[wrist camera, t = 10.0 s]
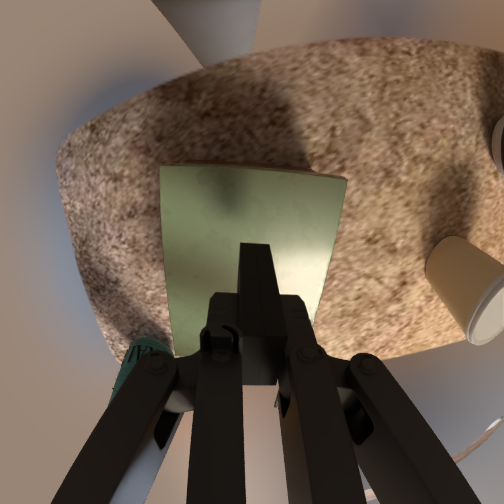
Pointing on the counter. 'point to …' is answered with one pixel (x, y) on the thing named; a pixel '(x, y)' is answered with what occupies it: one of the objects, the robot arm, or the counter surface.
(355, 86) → the counter surface
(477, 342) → the coffee cup
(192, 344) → the lid
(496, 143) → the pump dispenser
